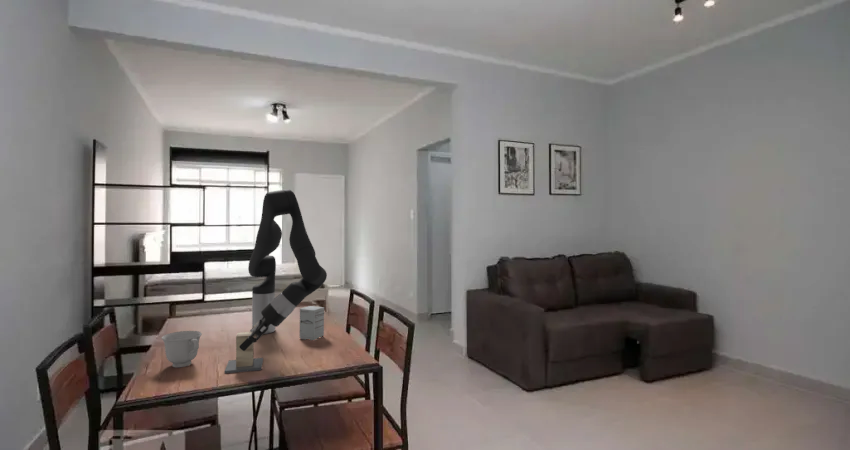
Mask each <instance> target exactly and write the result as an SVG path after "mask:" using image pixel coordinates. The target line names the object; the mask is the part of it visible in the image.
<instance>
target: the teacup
mask: <svg viewBox="0 0 850 450" xmlns="http://www.w3.org/2000/svg"><path fill="white" fill-rule="evenodd" d="M202 335H203V333H202V332H201V331H197V330H181V331H174V332H169V333H167V334H164V335H162V336H161V340H162V341H163V343H164V350H165V356H166V357H165V358H166V359H167V360H168V362H170V363H172V365H171V366H172V367H173V368H184V367H188V366H190V365H191V364H193V363H192V361H193V360H194V359H195V358H196V357H197V355H198V351H199V346H200V338H201V336H202Z"/></svg>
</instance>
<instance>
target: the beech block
mask: <svg viewBox="0 0 850 450" xmlns="http://www.w3.org/2000/svg"><path fill="white" fill-rule="evenodd" d="M250 335H251V332H250V331H245V332H242V331H241V332H237V333H236V337H235V352H236V353H235V360H236V367H242V366H252V365H253V358H254V344H255V343H252V344H251V345H250V346H249V347H248V348H247V349H246V350H245V351H243V350H242V349H240V345H241V344H242V343H243V342H244V341H245V340H246V339H247V338H248V336H250ZM253 337H254V338H255V336H254V335H253Z"/></svg>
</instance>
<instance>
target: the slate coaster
mask: <svg viewBox="0 0 850 450" xmlns="http://www.w3.org/2000/svg"><path fill="white" fill-rule="evenodd" d="M263 363H264V358H263V357H256V358H254V357H253V365H252V366H242V367H236V359H232V360H228V362H227V364H226V367H225V368H224V374H232V373H233V374H234V373H235V374H236V373H243V372H256V371H262V369H263V368H262V367H263Z"/></svg>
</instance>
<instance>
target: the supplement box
mask: <svg viewBox="0 0 850 450" xmlns="http://www.w3.org/2000/svg"><path fill="white" fill-rule="evenodd" d="M324 331H325V307H324V306H323V307H322V306H314V305H309V306H305V307H301V308H299V336H298V337H299V338H301V339H300V340H306V339H310V340H309V341H312V340H315V339H317V338H319V337H322V336H325V334H324V333H325V332H324ZM322 338H323V337H322ZM317 340H318V339H317ZM315 341H316V340H315Z"/></svg>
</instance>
